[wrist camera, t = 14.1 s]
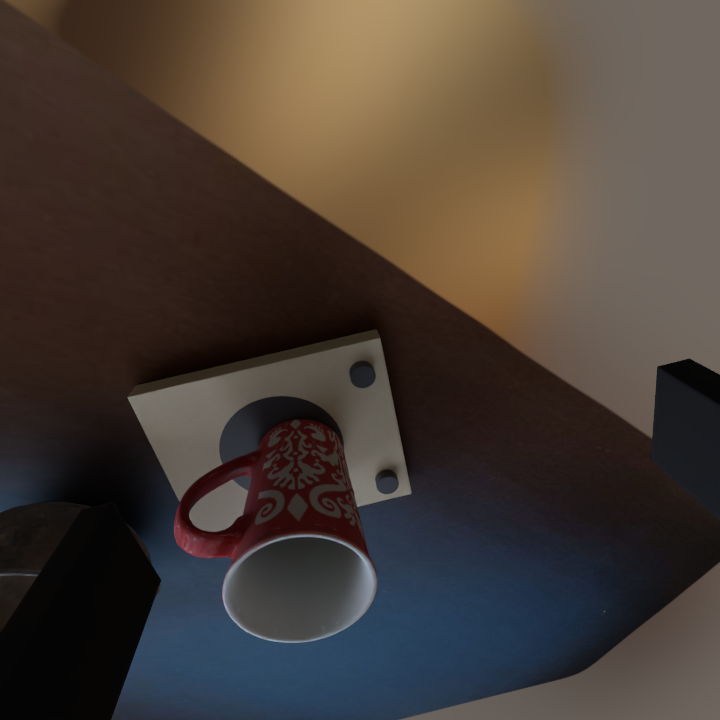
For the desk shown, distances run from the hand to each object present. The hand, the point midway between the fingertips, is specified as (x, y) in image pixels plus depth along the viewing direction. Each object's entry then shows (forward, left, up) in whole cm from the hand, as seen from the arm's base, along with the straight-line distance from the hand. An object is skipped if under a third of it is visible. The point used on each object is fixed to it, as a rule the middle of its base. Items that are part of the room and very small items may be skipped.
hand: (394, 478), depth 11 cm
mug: (+8, +14, -23) cm, 28 cm away
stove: (+8, +14, -25) cm, 30 cm away
